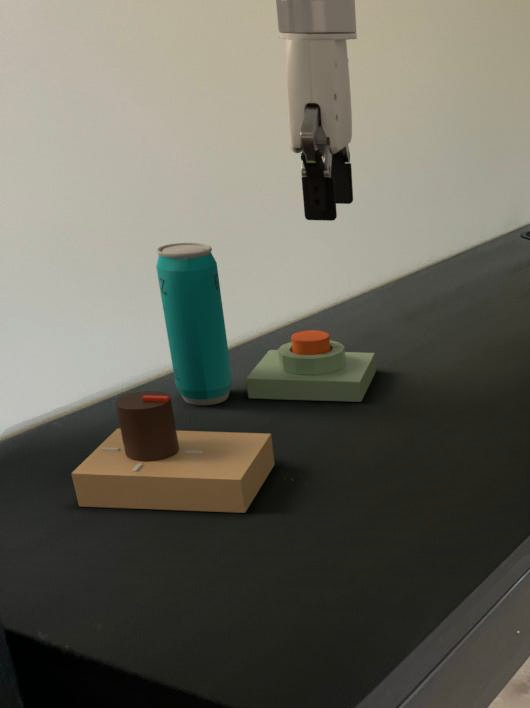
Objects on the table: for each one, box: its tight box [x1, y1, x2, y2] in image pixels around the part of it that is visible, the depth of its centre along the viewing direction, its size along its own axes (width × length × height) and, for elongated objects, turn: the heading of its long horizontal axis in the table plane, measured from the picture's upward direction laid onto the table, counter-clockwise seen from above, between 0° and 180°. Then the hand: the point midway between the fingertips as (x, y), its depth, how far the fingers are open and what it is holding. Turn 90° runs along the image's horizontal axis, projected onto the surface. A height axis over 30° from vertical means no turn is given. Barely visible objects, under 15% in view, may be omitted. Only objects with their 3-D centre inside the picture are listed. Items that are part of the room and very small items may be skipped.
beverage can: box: [155, 242, 233, 406], centre depth 100 cm, size 6×6×15 cm
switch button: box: [290, 330, 331, 355], centre depth 105 cm, size 4×4×2 cm
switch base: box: [245, 339, 377, 403], centre depth 107 cm, size 12×10×4 cm
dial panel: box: [71, 428, 275, 514], centre depth 85 cm, size 14×10×3 cm
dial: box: [114, 390, 179, 461], centre depth 83 cm, size 4×4×5 cm
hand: (330, 211), depth 105 cm, fingers open, 9 cm apart
